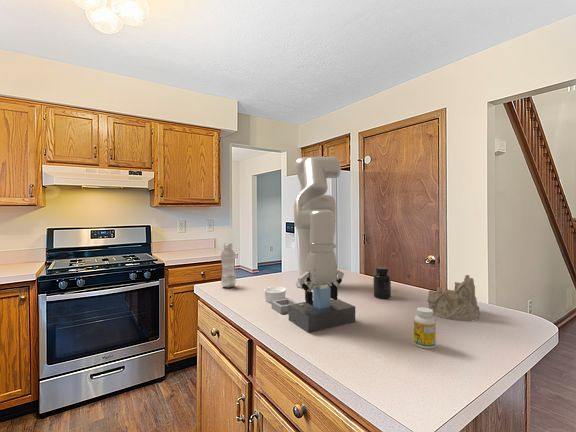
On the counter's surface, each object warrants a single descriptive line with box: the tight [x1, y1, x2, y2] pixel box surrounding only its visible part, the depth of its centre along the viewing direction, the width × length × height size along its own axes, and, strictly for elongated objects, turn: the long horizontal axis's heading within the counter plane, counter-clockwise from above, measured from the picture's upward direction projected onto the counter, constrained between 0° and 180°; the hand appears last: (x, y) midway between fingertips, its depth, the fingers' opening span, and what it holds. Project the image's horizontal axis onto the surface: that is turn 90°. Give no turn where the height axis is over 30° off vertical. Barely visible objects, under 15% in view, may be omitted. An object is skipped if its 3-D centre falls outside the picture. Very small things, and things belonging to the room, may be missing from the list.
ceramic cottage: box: [426, 274, 481, 322], centre depth 110 cm, size 16×16×15 cm
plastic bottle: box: [220, 242, 237, 289], centre depth 145 cm, size 6×7×20 cm
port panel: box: [288, 298, 356, 333], centre depth 102 cm, size 18×12×5 cm, turn 119°
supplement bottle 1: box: [373, 266, 392, 300], centre depth 129 cm, size 7×7×12 cm
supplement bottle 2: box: [413, 307, 437, 350], centre depth 85 cm, size 5×5×10 cm
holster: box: [271, 298, 297, 315], centre depth 114 cm, size 7×7×2 cm
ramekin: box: [263, 286, 287, 304], centre depth 126 cm, size 9×9×4 cm
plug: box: [312, 284, 331, 309], centre depth 102 cm, size 4×4×12 cm
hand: (321, 301), depth 102 cm, fingers open, 9 cm apart
